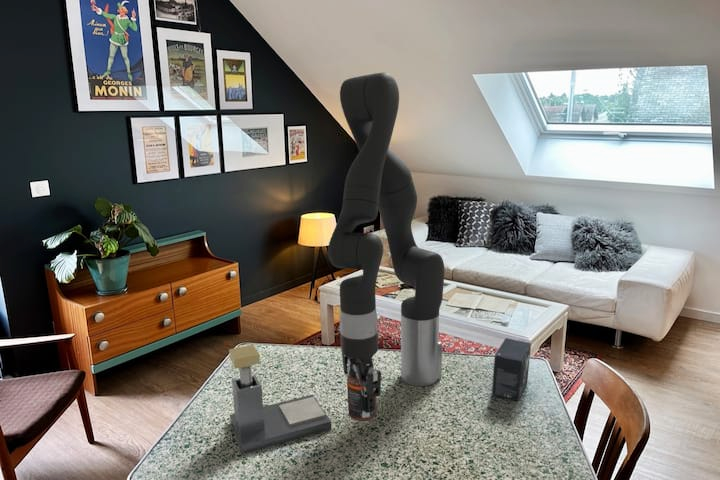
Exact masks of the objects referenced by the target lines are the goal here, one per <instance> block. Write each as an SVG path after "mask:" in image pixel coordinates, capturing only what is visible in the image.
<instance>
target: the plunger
mask: <svg viewBox="0 0 720 480" xmlns="http://www.w3.org/2000/svg"><path fill="white" fill-rule="evenodd" d="M228 353H229V360H230V361H231V363H232V366H233V368H234V369H235V370H237V369H239V379H240V383H241V389H243V388H248V387H252V386H253V383H252V376H253V374H252V372H253V371H252V366H255V365H258V364H261V363H260V362H261V359H260V353H259V351H258V350H257V349H256V346H255V344H250V345H245V346H240V347H235V348H231V349H228Z"/></svg>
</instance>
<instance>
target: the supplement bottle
mask: <svg viewBox="0 0 720 480" xmlns="http://www.w3.org/2000/svg"><path fill="white" fill-rule="evenodd" d="M351 372H352V373H350V374H349V375H348V374H347V375H348V377H346V378H347V379H346V385H347V386H346V387H347V410H348V415H349V418H351V419H352V420H354V421H357V422H368V421H370V420H373V419H374V418H375V417H376V415H377V397H374V404H375V409H374V411H372V412H369V413H365V412H364V410H363V393H362V388H361V386H359V385H358V381H357V376H356V373H355V372H354V368H353V365H352V366H351ZM366 380H367V379H366V378H363V379H362V381H366ZM366 391H367V385H366Z"/></svg>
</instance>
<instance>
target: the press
mask: <svg viewBox="0 0 720 480" xmlns="http://www.w3.org/2000/svg"><path fill="white" fill-rule="evenodd" d="M252 383H253V386H252V387H248V388H243V389H241V383H240V378H235V379H232V380H231V386H232V387H231V388H232V398H233V409H234V413H233V414H229V419H230V425H231V428H232V431H233V433H234V435H235V438H236V440H237V443H238V445H239V448H240V451H241V453H242V455H246V454H250V453H253V452H256V451H260V450H263V449H267V448H271V447H274V446H277V445H281V444H285V443H289V442H293V441H296V440H298V439H299V440H301V439H302V438H306V437H310V436H314V435H318V434H321V433H324V432H328V431H332V420H331V419H330V417H329V416H328V415H327V413H326V412H325V410H324V409H323V408H322V406H321V405H320V403H319V402H318V400H317V399H316V397H315V396H314V394H310V395H305V396H300V397H296V398H293V399H289V400H285V401H281V402H277V403H273V404H269V405H265V406H264V403H263V400H264V399H263V390H262V389H263V387H262V384H261V382H260V380H259V379H258V377H257V375H256V374H254V375H253V374H252Z"/></svg>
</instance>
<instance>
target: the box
mask: <svg viewBox="0 0 720 480" xmlns="http://www.w3.org/2000/svg"><path fill="white" fill-rule="evenodd" d="M531 347H532V343H531V342H526V341H521V340H517V339H512V338H507V337H505V339H504V341H503V342H502V343H501V345H500V346H499V348H498V349H497V351H496V352H495V354H494V359H493V361H494V362H493V371H492V372H493V373H492V384H491V395H492V396H496V397H500V398H504V399H508V400H513V401H516V402H517V401H519V400H520V398H521V396H522V394H523V391H524V389H525V387H526V385H527V383H528V380H529V379H528V378H529V368H530V360H531V359H530V358H531V349H532V348H531Z"/></svg>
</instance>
